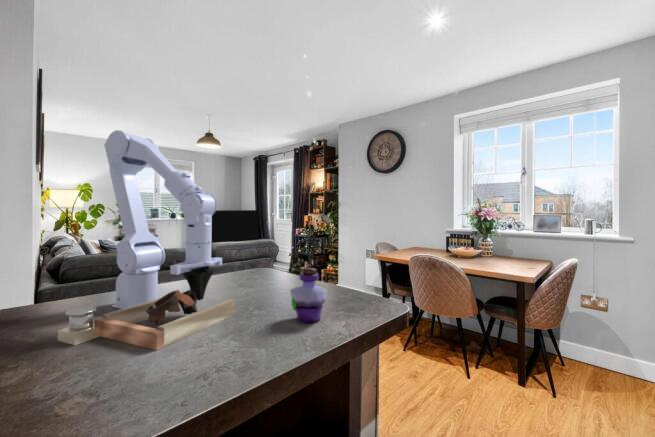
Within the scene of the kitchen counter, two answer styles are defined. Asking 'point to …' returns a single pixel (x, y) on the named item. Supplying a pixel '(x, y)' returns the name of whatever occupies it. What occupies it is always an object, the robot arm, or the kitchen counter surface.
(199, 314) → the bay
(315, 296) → the potion bottle
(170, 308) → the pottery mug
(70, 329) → the winch drum
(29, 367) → the kitchen counter surface
